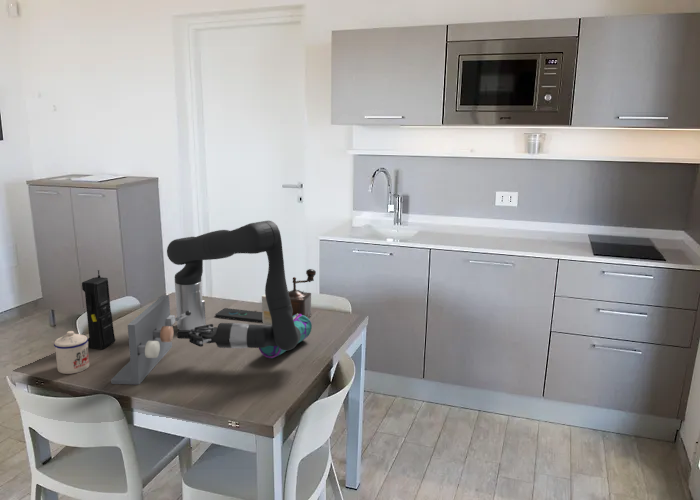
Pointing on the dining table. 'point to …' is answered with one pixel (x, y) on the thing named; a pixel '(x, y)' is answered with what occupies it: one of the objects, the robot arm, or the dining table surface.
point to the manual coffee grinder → (301, 296)
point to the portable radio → (98, 312)
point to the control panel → (145, 341)
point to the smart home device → (240, 315)
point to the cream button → (150, 349)
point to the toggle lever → (183, 315)
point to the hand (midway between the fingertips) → (177, 334)
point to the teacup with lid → (72, 353)
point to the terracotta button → (164, 334)
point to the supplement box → (265, 312)
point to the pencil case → (305, 329)
